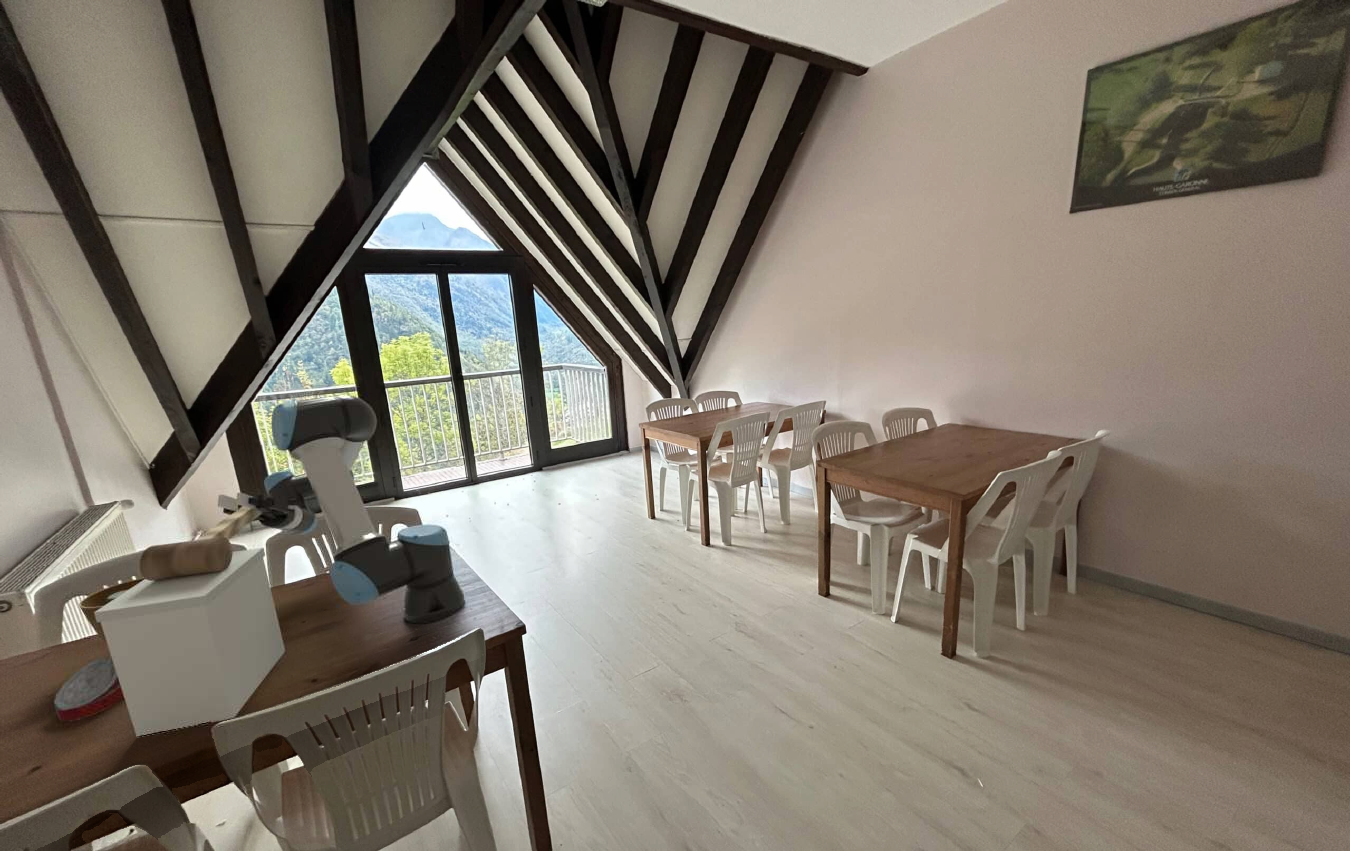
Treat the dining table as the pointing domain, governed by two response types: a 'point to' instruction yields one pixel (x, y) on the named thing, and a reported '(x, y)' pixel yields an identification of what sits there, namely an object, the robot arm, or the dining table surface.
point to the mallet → (196, 550)
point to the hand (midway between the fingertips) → (229, 499)
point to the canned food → (89, 690)
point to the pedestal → (193, 643)
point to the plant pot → (103, 603)
